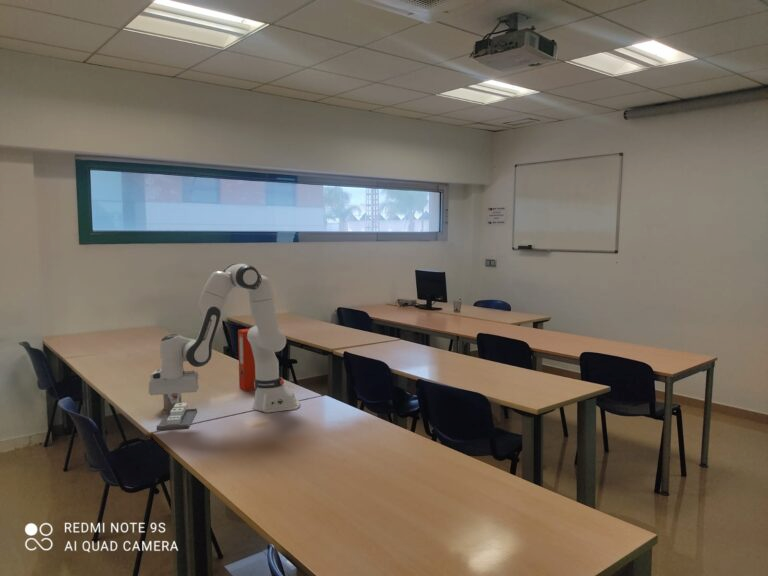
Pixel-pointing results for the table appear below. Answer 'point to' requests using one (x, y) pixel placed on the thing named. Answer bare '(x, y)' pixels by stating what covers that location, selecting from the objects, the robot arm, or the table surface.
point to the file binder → (245, 362)
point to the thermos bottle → (169, 401)
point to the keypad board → (185, 422)
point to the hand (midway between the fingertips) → (175, 403)
